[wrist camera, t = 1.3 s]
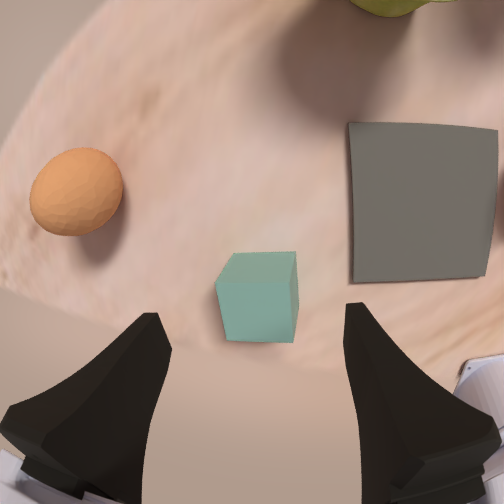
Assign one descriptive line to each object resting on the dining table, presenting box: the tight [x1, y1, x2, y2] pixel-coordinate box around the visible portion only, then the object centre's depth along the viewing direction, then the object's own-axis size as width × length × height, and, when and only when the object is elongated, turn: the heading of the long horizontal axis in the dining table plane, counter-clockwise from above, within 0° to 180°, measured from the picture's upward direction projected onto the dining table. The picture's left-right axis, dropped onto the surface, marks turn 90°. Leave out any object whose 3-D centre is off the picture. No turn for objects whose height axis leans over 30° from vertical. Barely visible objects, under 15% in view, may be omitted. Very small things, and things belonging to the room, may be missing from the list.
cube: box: [215, 251, 299, 343], centre depth 24 cm, size 5×5×5 cm
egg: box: [29, 148, 123, 236], centre depth 21 cm, size 7×7×9 cm
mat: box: [348, 122, 498, 282], centre depth 20 cm, size 12×12×1 cm
